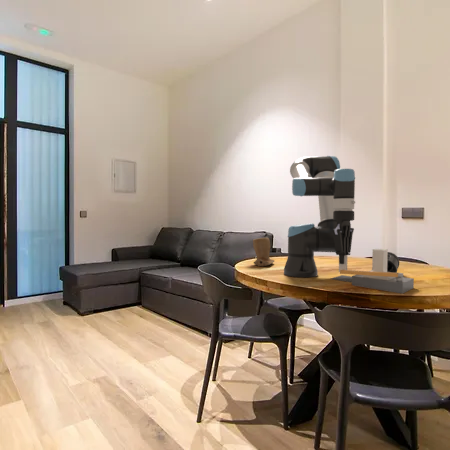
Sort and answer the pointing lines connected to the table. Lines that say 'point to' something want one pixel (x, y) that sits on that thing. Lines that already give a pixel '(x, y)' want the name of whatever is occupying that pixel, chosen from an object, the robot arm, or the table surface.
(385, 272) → the tan wooden bar
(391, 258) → the muzzle brake
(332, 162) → the robot arm
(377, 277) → the plug
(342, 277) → the mat
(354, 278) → the socket block
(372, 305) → the table surface
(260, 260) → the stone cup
